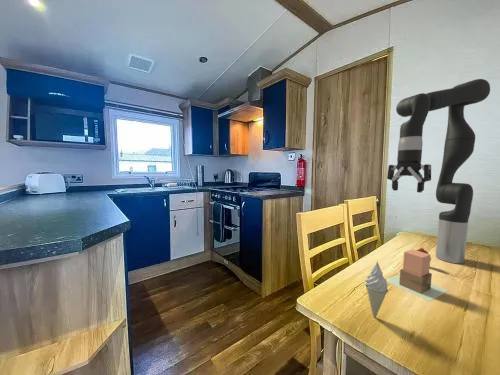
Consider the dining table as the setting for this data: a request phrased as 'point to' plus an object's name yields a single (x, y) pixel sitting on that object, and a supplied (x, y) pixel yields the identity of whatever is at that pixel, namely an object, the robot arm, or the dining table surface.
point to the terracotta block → (416, 262)
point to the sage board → (427, 295)
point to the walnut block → (415, 281)
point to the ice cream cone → (376, 288)
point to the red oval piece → (423, 251)
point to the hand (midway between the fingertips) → (406, 191)
